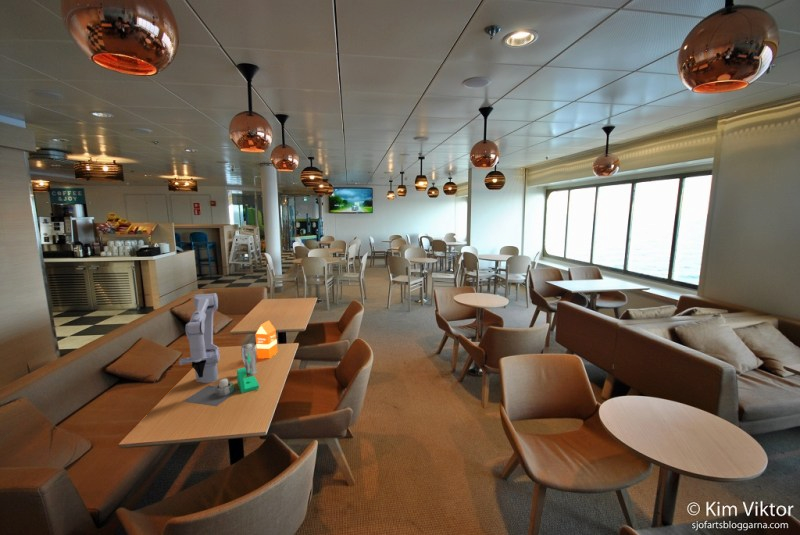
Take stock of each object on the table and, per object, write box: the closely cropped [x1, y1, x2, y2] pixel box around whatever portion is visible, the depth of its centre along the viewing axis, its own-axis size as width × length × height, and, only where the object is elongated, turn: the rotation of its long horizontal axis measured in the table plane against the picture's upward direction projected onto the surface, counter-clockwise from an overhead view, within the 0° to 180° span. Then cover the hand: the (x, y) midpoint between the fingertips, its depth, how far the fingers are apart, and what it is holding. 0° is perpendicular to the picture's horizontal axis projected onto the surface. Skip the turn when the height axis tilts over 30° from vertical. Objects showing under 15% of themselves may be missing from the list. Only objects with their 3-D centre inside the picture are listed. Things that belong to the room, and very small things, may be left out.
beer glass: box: [240, 343, 258, 377], centre depth 171 cm, size 7×7×15 cm
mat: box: [183, 384, 241, 407], centre depth 149 cm, size 18×14×1 cm
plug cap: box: [218, 378, 229, 389], centre depth 150 cm, size 4×4×6 cm
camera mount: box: [236, 367, 260, 394], centre depth 156 cm, size 12×8×10 cm, turn 34°
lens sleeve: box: [214, 381, 235, 397], centre depth 150 cm, size 7×7×4 cm
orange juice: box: [254, 320, 278, 359], centre depth 192 cm, size 8×9×20 cm
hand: (201, 376), depth 149 cm, fingers closed
